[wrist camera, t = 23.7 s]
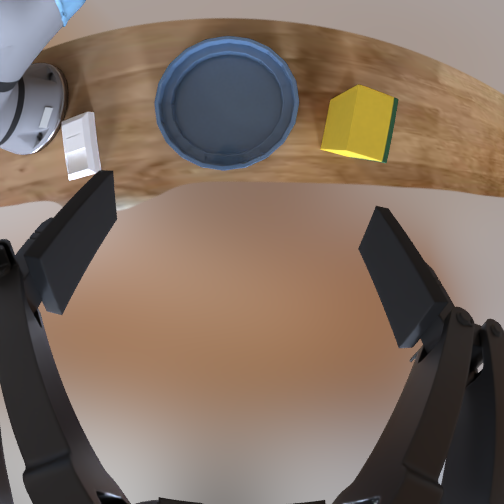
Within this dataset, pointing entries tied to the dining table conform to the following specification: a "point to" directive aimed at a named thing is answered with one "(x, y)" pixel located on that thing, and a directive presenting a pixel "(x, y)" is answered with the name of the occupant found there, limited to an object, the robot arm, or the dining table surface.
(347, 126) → the sponge
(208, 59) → the bowl
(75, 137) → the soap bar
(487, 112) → the dining table surface
